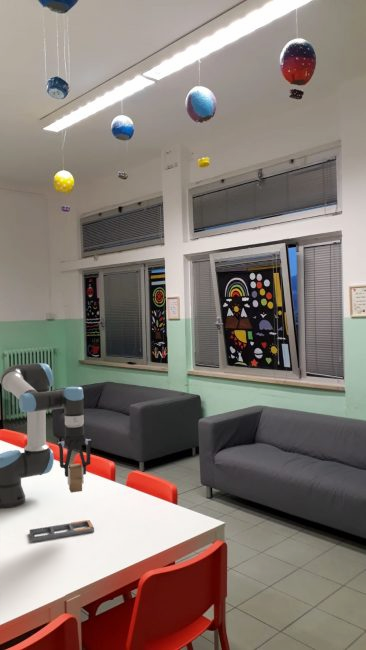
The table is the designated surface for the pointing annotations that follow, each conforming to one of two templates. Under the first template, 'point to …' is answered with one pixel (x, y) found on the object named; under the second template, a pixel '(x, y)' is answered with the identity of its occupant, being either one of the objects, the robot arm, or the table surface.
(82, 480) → the robot arm
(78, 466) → the walnut block
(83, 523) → the rack
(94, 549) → the table surface
